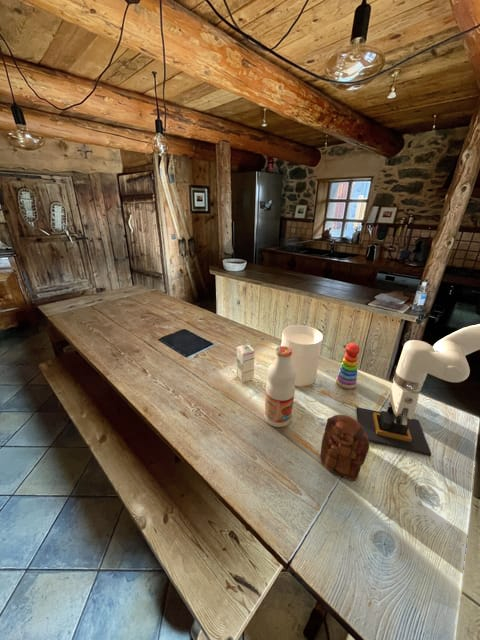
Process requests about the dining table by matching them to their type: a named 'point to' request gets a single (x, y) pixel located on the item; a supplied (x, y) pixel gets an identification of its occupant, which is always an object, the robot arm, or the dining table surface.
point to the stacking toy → (349, 367)
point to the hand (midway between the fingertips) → (393, 423)
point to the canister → (303, 351)
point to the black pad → (390, 421)
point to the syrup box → (245, 362)
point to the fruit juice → (280, 389)
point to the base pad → (393, 433)
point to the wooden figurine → (344, 446)
